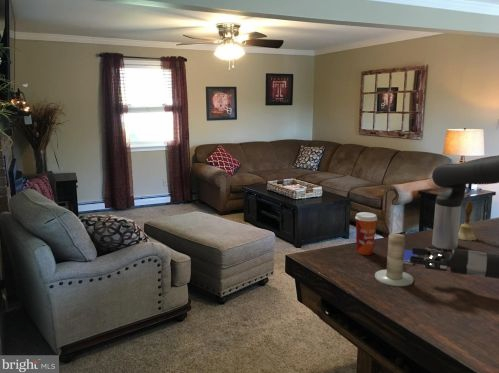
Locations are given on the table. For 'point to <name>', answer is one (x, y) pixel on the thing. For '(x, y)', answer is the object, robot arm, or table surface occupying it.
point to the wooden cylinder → (395, 256)
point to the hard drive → (408, 256)
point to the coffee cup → (365, 232)
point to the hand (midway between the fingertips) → (411, 254)
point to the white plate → (404, 281)
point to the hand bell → (467, 225)
